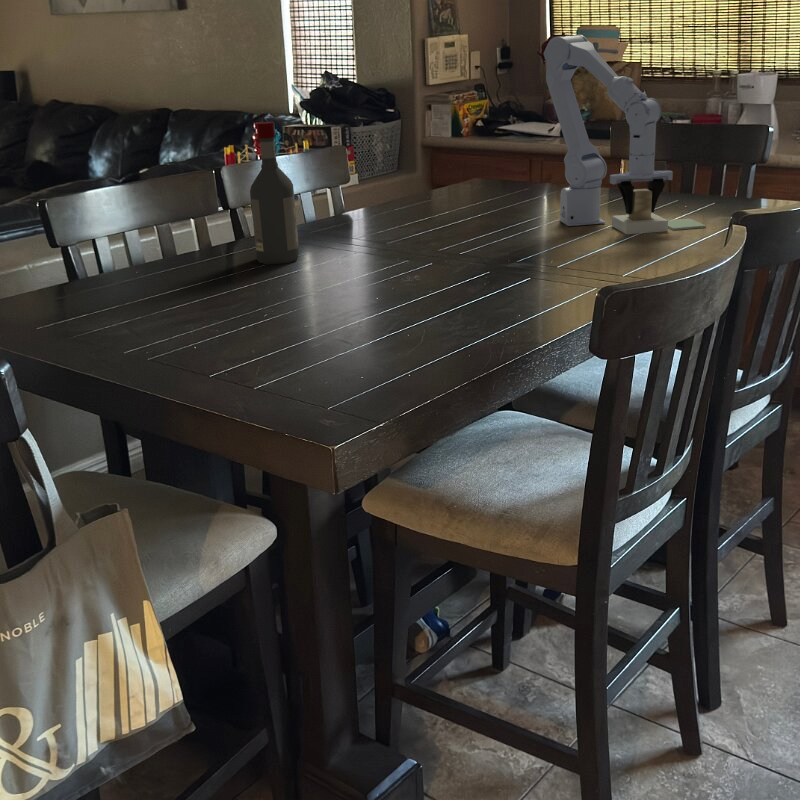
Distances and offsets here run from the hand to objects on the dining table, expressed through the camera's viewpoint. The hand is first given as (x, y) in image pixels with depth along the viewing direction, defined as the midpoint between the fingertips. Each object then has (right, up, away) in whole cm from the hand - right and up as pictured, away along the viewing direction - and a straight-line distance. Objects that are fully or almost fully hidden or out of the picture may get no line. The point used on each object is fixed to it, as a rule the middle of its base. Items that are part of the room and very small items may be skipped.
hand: (639, 212), depth 234 cm
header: (0, -4, +1) cm, 4 cm away
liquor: (-84, -13, -9) cm, 86 cm away
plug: (0, -4, +1) cm, 4 cm away
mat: (+11, -3, +3) cm, 11 cm away
